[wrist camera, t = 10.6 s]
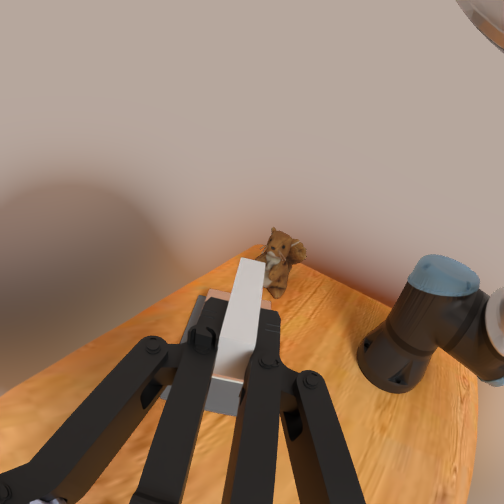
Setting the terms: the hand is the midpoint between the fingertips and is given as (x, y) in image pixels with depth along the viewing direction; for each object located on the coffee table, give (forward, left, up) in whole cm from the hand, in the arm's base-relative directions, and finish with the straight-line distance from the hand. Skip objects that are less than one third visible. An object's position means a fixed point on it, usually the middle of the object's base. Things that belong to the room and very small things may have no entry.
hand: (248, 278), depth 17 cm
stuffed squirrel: (-25, -30, -26) cm, 47 cm away
